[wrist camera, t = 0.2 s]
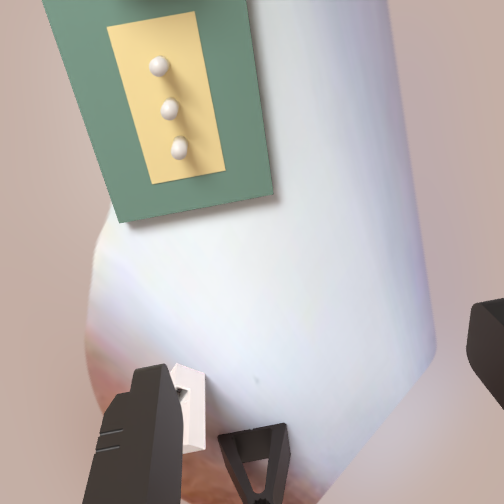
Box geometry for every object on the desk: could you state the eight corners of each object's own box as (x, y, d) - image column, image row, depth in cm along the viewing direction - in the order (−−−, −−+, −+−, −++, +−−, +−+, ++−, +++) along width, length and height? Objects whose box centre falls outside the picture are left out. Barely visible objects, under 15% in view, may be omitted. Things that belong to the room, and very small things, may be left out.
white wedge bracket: (224, 362, 45) (205, 449, 40) (188, 381, 53) (168, 456, 48) (194, 351, 44) (170, 439, 39) (161, 372, 51) (138, 448, 46)
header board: (44, -11, 30) (20, -17, 26) (237, -46, 30) (242, -56, 26) (122, 216, 39) (113, 238, 35) (271, 188, 39) (278, 207, 35)
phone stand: (285, 422, 54) (305, 517, 44) (290, 451, 57) (309, 547, 47) (217, 435, 54) (221, 533, 44) (225, 463, 57) (230, 562, 47)
